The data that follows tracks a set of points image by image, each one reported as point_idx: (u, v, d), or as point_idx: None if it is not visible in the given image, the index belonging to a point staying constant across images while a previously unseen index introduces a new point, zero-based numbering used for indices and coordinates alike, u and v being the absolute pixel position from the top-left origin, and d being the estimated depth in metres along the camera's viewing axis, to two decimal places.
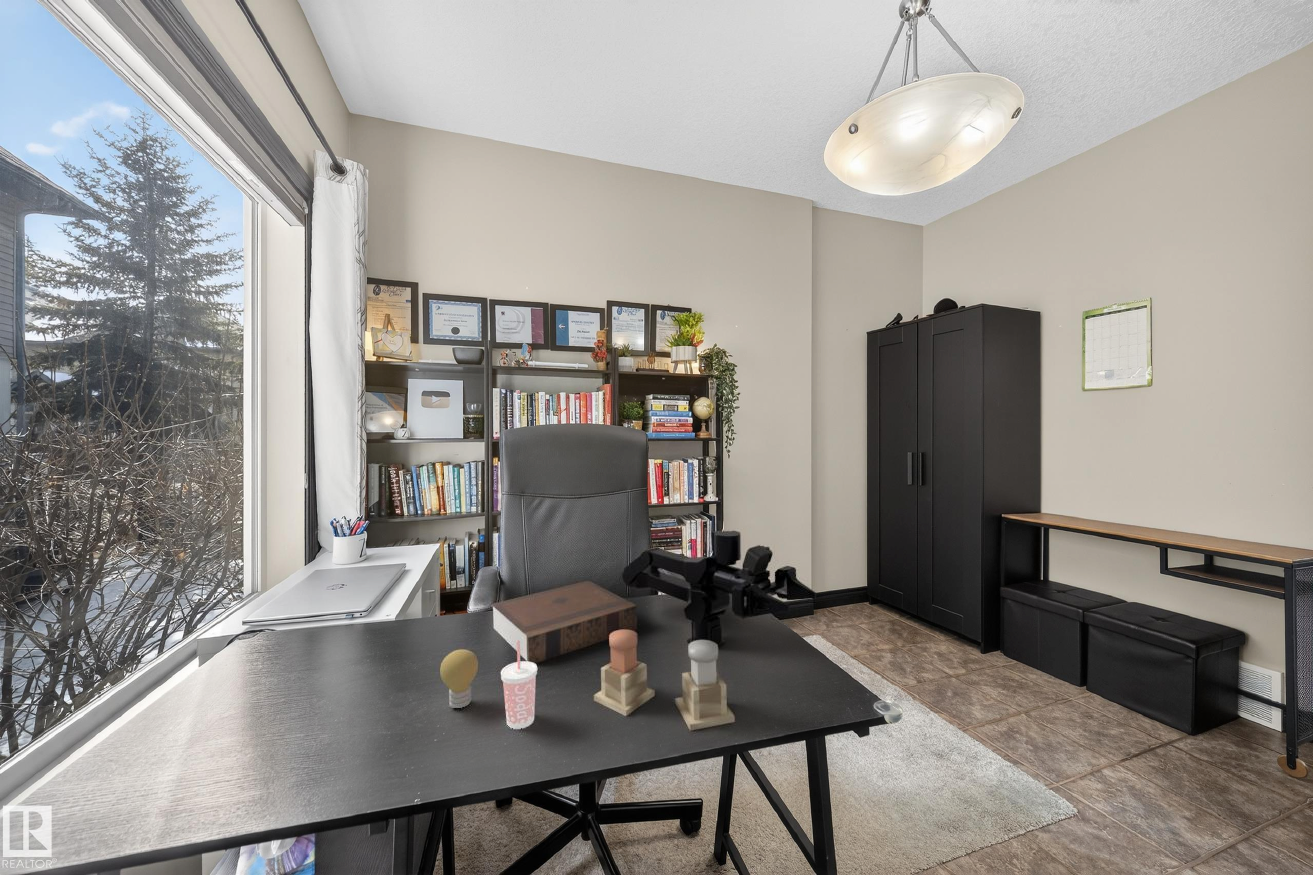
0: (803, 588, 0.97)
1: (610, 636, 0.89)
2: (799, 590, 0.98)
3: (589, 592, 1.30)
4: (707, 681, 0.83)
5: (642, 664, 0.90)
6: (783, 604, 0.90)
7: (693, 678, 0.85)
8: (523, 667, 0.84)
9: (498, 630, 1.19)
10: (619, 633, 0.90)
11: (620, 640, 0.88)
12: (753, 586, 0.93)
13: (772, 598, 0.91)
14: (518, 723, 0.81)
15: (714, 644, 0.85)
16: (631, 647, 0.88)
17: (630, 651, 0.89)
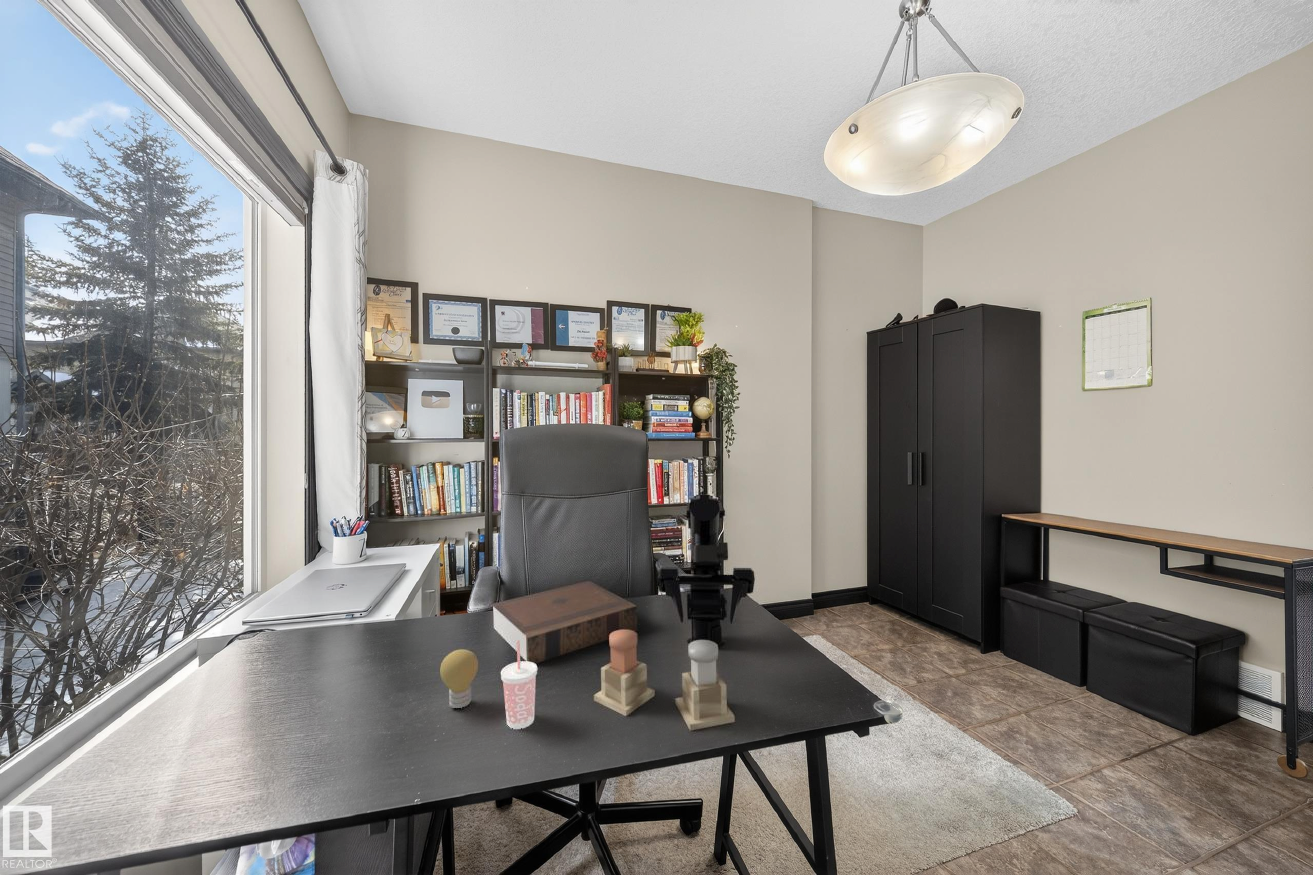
0: None
1: (610, 636, 0.89)
2: None
3: (590, 592, 1.29)
4: (707, 681, 0.83)
5: (642, 664, 0.90)
6: (679, 615, 0.91)
7: (693, 678, 0.85)
8: (523, 667, 0.84)
9: (498, 630, 1.19)
10: (619, 633, 0.90)
11: (620, 640, 0.88)
12: (672, 581, 0.93)
13: (678, 603, 0.92)
14: (518, 723, 0.81)
15: (714, 644, 0.85)
16: (631, 647, 0.88)
17: (630, 651, 0.89)
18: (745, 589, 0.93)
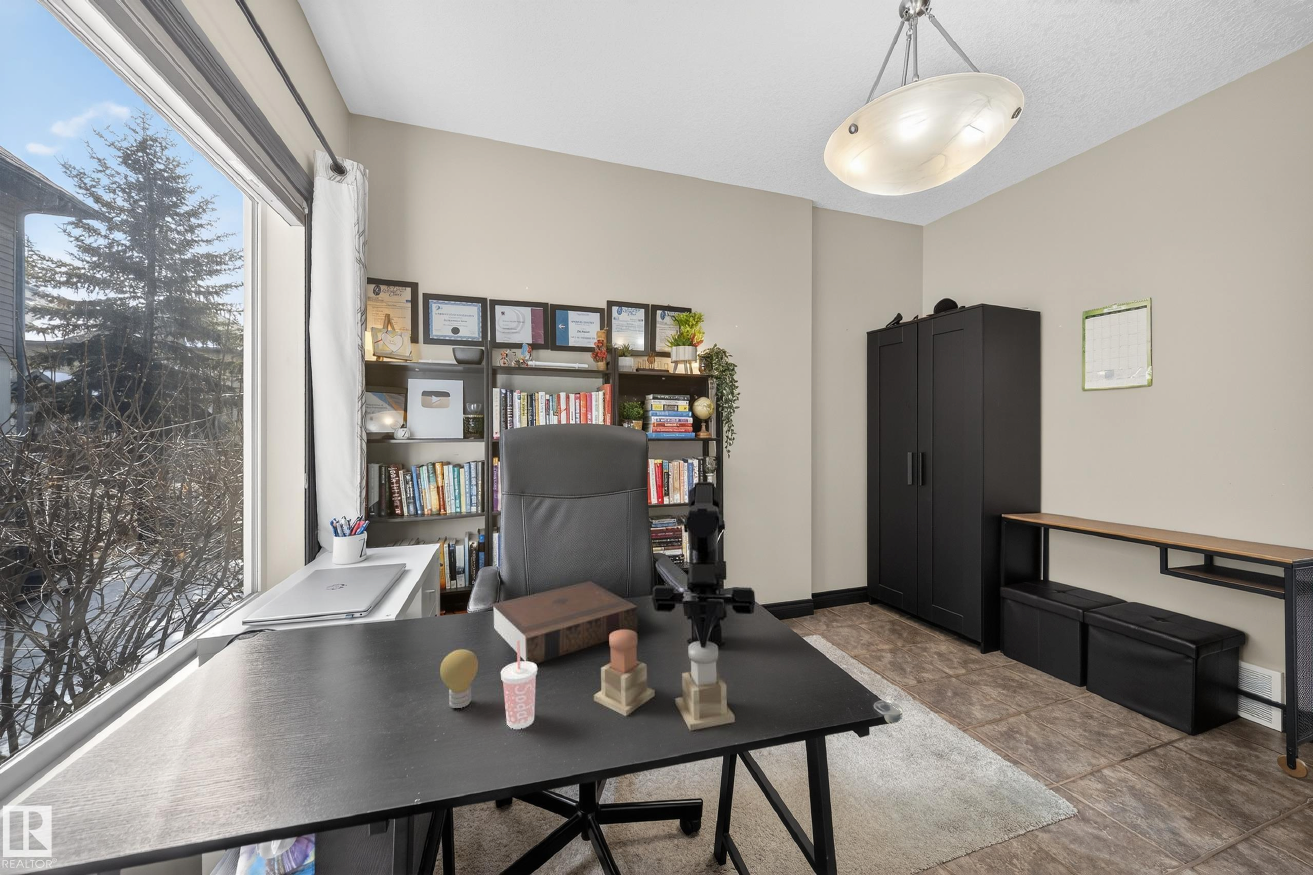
0: (704, 629, 0.86)
1: (610, 636, 0.89)
2: None
3: (590, 592, 1.29)
4: (707, 682, 0.83)
5: (642, 664, 0.90)
6: (699, 640, 0.85)
7: (693, 679, 0.85)
8: (523, 667, 0.84)
9: (498, 630, 1.19)
10: (619, 633, 0.90)
11: (620, 640, 0.88)
12: (691, 602, 0.87)
13: (697, 626, 0.86)
14: (518, 723, 0.81)
15: (714, 645, 0.85)
16: (631, 647, 0.88)
17: (630, 651, 0.89)
18: (720, 610, 0.88)
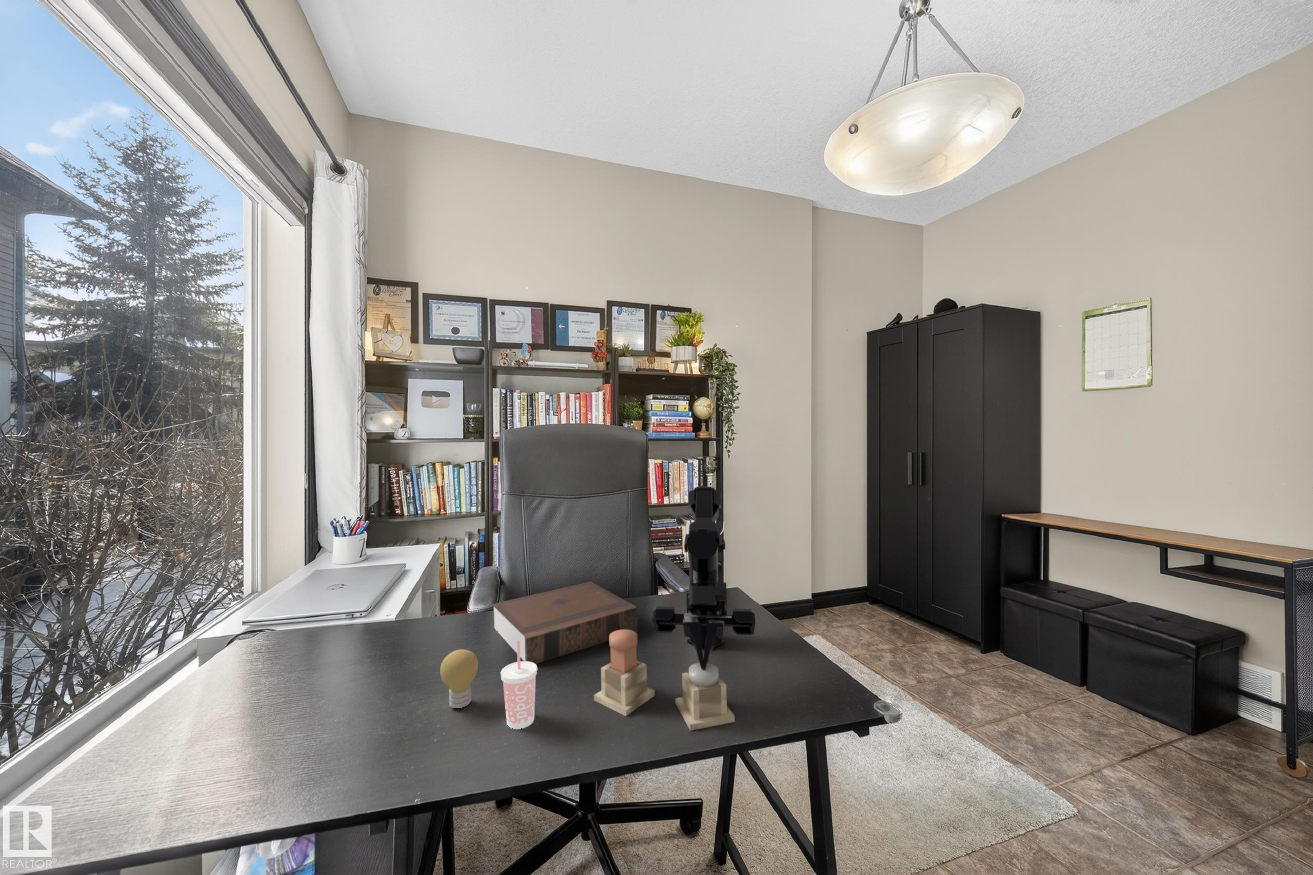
0: (704, 651, 0.86)
1: (610, 636, 0.89)
2: None
3: (591, 593, 1.29)
4: None
5: (642, 664, 0.90)
6: (699, 662, 0.85)
7: None
8: (523, 667, 0.84)
9: (498, 630, 1.19)
10: (619, 633, 0.90)
11: (620, 640, 0.88)
12: (691, 624, 0.87)
13: (698, 647, 0.86)
14: (518, 723, 0.81)
15: (714, 667, 0.85)
16: (631, 647, 0.88)
17: (630, 651, 0.89)
18: (721, 631, 0.88)
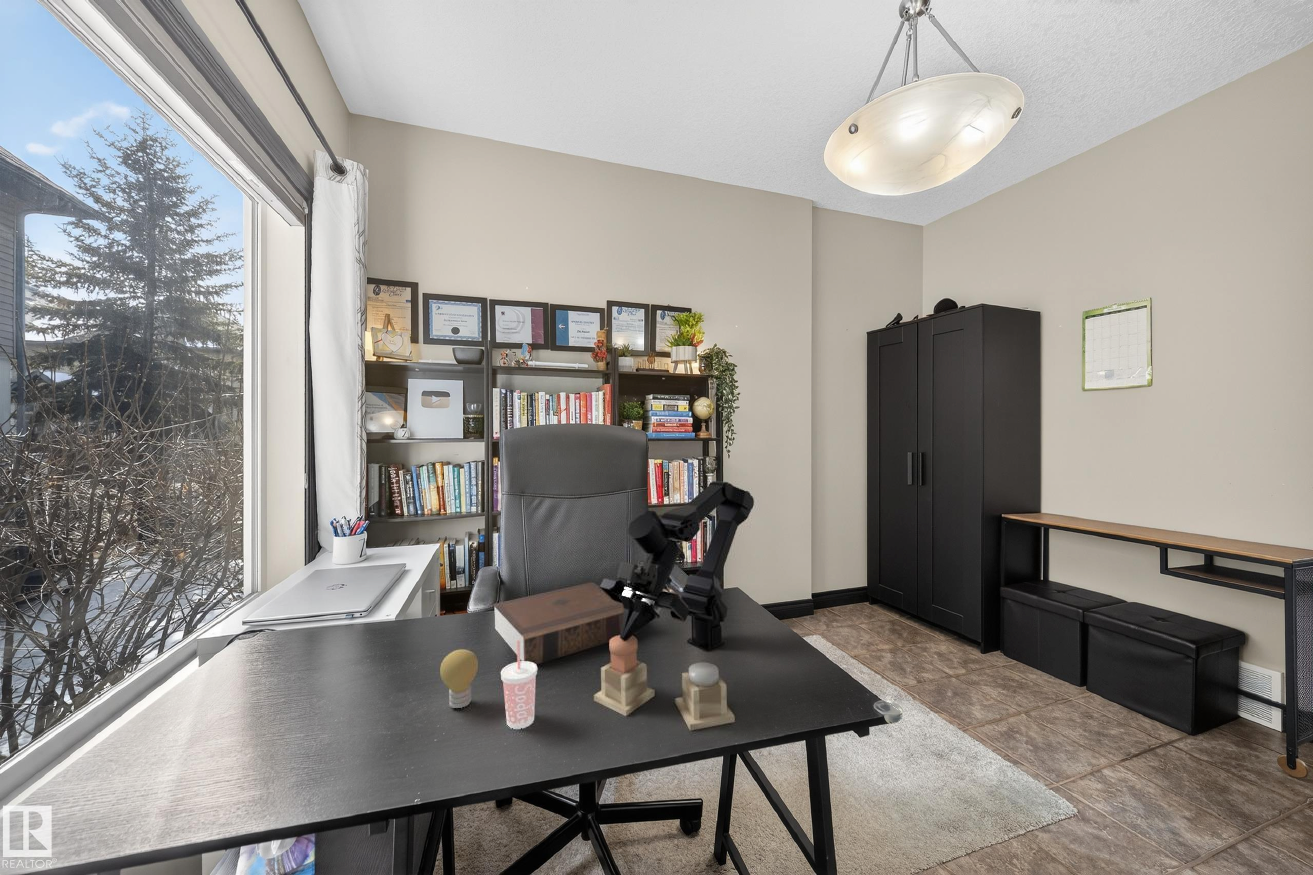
0: None
1: (610, 641, 0.89)
2: None
3: (592, 593, 1.28)
4: None
5: (642, 664, 0.90)
6: None
7: None
8: (523, 667, 0.84)
9: (499, 630, 1.19)
10: (619, 638, 0.90)
11: (620, 645, 0.88)
12: (623, 597, 0.93)
13: (623, 620, 0.91)
14: (518, 723, 0.81)
15: (714, 667, 0.85)
16: (631, 652, 0.88)
17: (630, 656, 0.89)
18: (650, 610, 0.91)
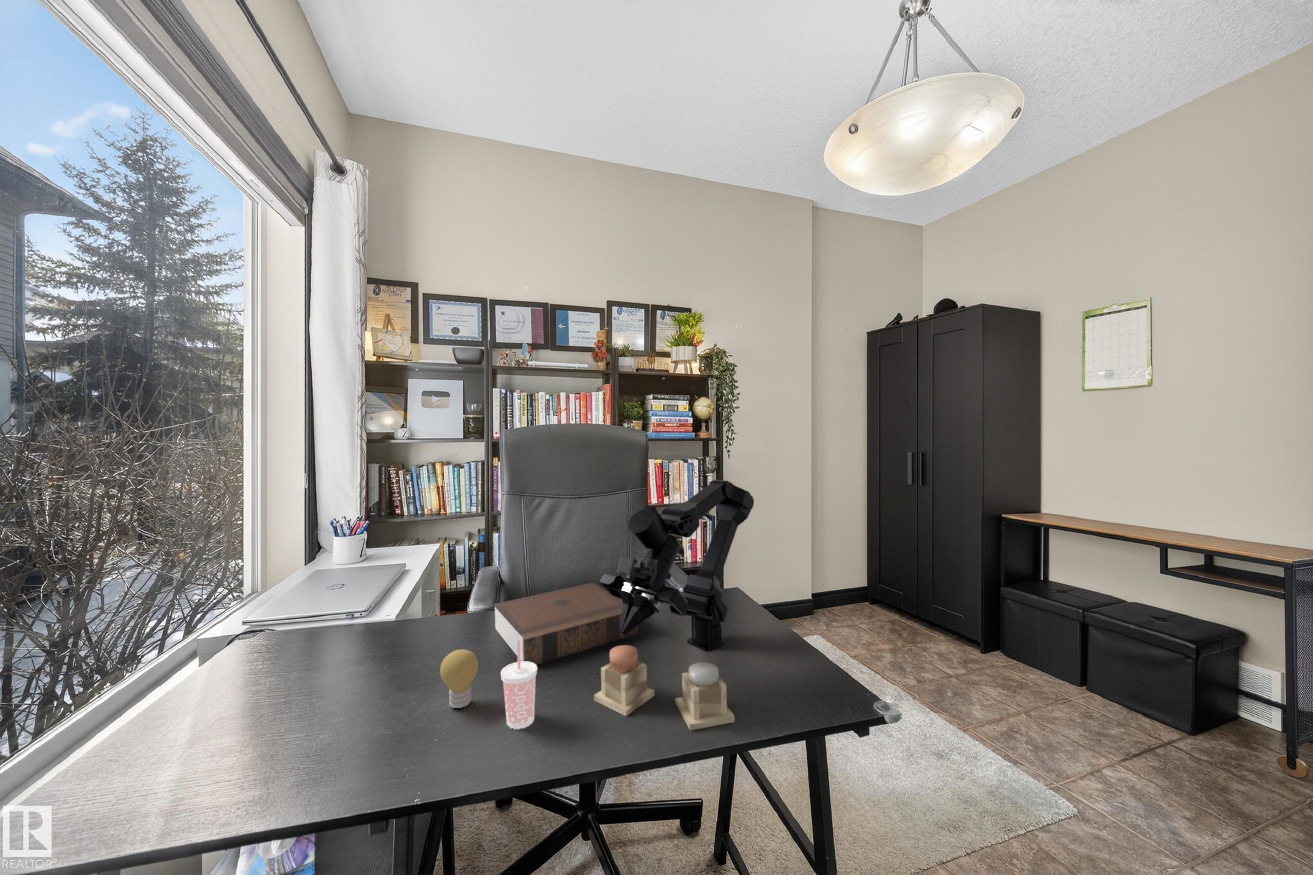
0: None
1: (610, 652, 0.89)
2: None
3: (592, 594, 1.28)
4: None
5: (642, 664, 0.90)
6: None
7: None
8: (523, 667, 0.84)
9: (499, 631, 1.19)
10: (620, 649, 0.91)
11: (620, 657, 0.88)
12: (622, 592, 0.92)
13: (623, 615, 0.91)
14: (518, 723, 0.81)
15: (714, 667, 0.85)
16: (631, 663, 0.88)
17: (630, 667, 0.89)
18: (649, 605, 0.90)
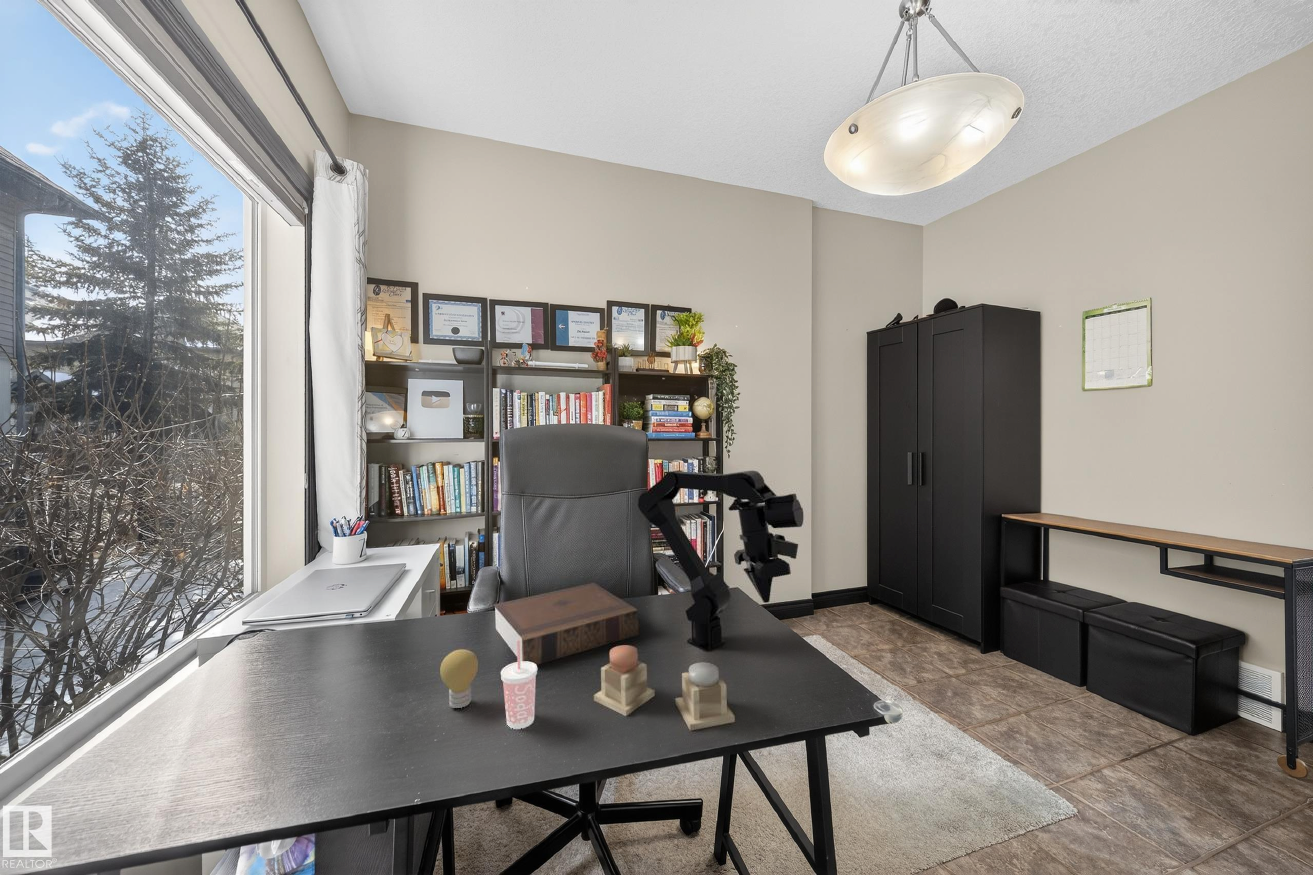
0: None
1: (610, 652, 0.89)
2: None
3: (593, 594, 1.27)
4: None
5: (642, 664, 0.90)
6: (768, 598, 1.03)
7: None
8: (523, 667, 0.84)
9: (499, 631, 1.19)
10: (620, 649, 0.91)
11: (620, 657, 0.88)
12: None
13: None
14: (518, 723, 0.81)
15: (714, 667, 0.85)
16: (631, 663, 0.88)
17: (630, 667, 0.89)
18: None
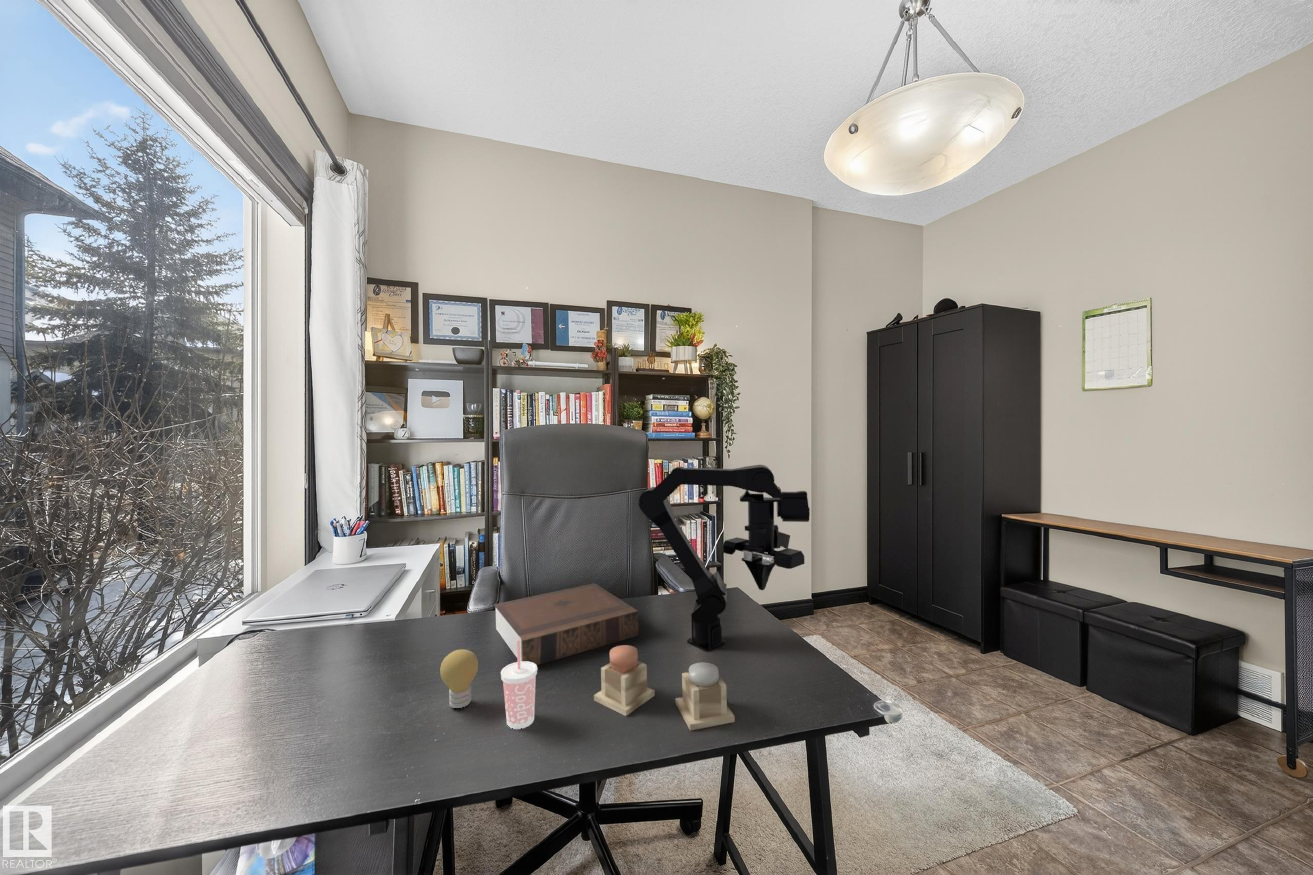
0: None
1: (610, 652, 0.89)
2: None
3: (593, 595, 1.27)
4: None
5: (642, 664, 0.90)
6: (765, 585, 1.09)
7: None
8: (523, 667, 0.84)
9: (499, 631, 1.19)
10: (620, 649, 0.91)
11: (620, 657, 0.88)
12: None
13: None
14: (518, 723, 0.81)
15: (714, 667, 0.85)
16: (631, 663, 0.88)
17: (630, 667, 0.89)
18: None
